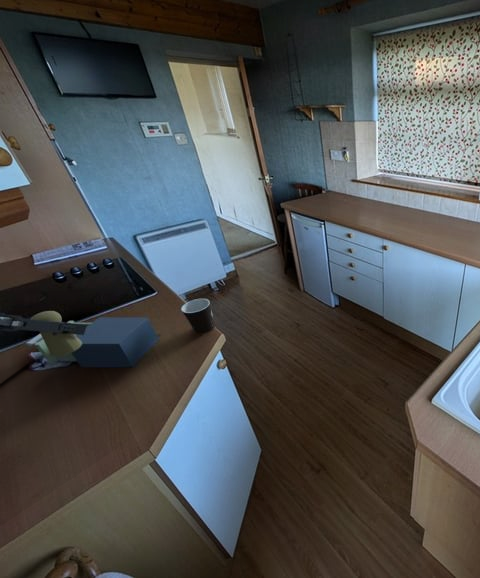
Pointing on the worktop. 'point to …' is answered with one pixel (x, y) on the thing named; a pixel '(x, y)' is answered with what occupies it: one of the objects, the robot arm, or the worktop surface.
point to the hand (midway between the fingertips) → (73, 328)
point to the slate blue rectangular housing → (115, 342)
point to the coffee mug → (199, 315)
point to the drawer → (45, 352)
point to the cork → (58, 343)
